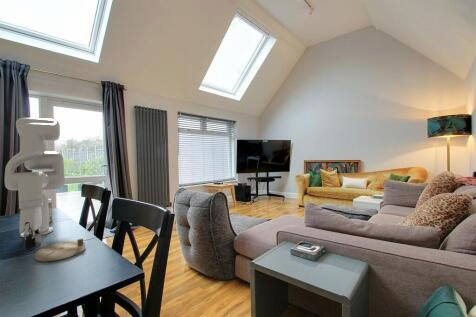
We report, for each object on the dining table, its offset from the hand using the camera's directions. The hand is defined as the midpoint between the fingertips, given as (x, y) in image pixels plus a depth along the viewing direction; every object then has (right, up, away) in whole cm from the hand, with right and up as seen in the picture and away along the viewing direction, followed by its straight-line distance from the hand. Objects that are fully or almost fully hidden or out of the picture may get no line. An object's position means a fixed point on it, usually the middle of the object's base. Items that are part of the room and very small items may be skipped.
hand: (33, 244), depth 98 cm
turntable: (+16, -2, -4) cm, 16 cm away
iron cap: (0, -1, 0) cm, 1 cm away
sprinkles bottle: (-27, -1, +40) cm, 48 cm away
